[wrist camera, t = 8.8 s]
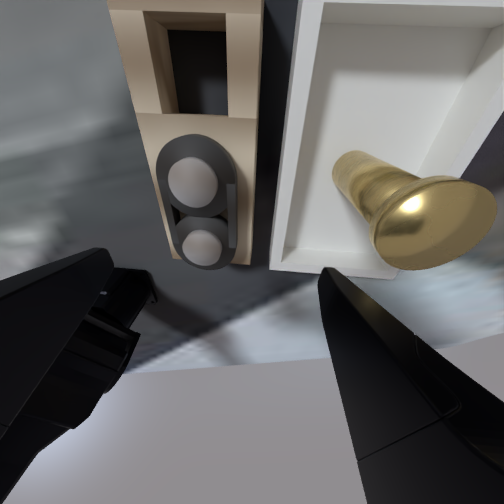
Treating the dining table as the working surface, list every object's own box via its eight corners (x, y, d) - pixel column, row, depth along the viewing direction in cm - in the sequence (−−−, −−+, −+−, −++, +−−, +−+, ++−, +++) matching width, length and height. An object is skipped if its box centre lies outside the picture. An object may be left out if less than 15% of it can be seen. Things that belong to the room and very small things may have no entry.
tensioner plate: (252, 247, 22) (247, 280, 18) (183, 242, 23) (163, 273, 18) (264, 0, 12) (260, -63, 7) (133, -4, 12) (56, -66, 8)
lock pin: (366, 196, 17) (451, 273, 9) (320, 193, 17) (363, 266, 9) (387, 144, 15) (528, 187, 7) (333, 141, 15) (406, 179, 7)
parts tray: (377, 257, 22) (393, 279, 19) (269, 249, 22) (269, 269, 19) (511, 7, 11) (594, -28, 8) (298, 1, 11) (307, -34, 9)
